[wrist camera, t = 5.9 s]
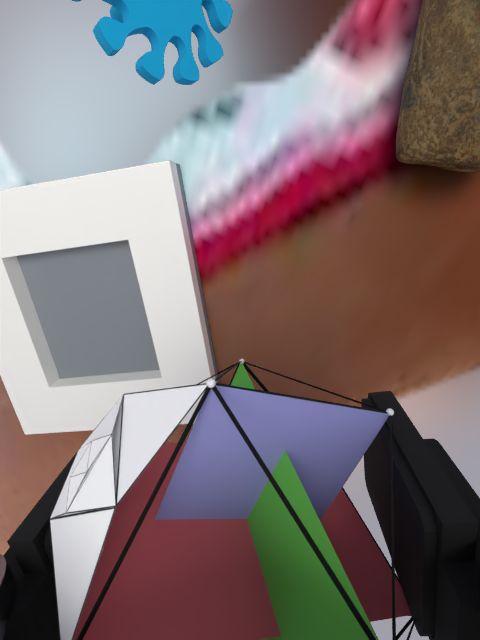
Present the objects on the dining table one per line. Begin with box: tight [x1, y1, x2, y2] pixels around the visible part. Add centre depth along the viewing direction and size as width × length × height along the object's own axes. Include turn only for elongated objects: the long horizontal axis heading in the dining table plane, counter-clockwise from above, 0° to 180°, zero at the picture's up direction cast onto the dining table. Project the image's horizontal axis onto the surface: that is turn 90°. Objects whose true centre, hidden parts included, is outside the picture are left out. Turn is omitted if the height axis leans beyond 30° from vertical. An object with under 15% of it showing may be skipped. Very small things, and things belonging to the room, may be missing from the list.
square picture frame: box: [0, 160, 219, 434], centre depth 27 cm, size 18×20×2 cm
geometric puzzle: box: [49, 359, 415, 640], centre depth 7 cm, size 7×7×8 cm
